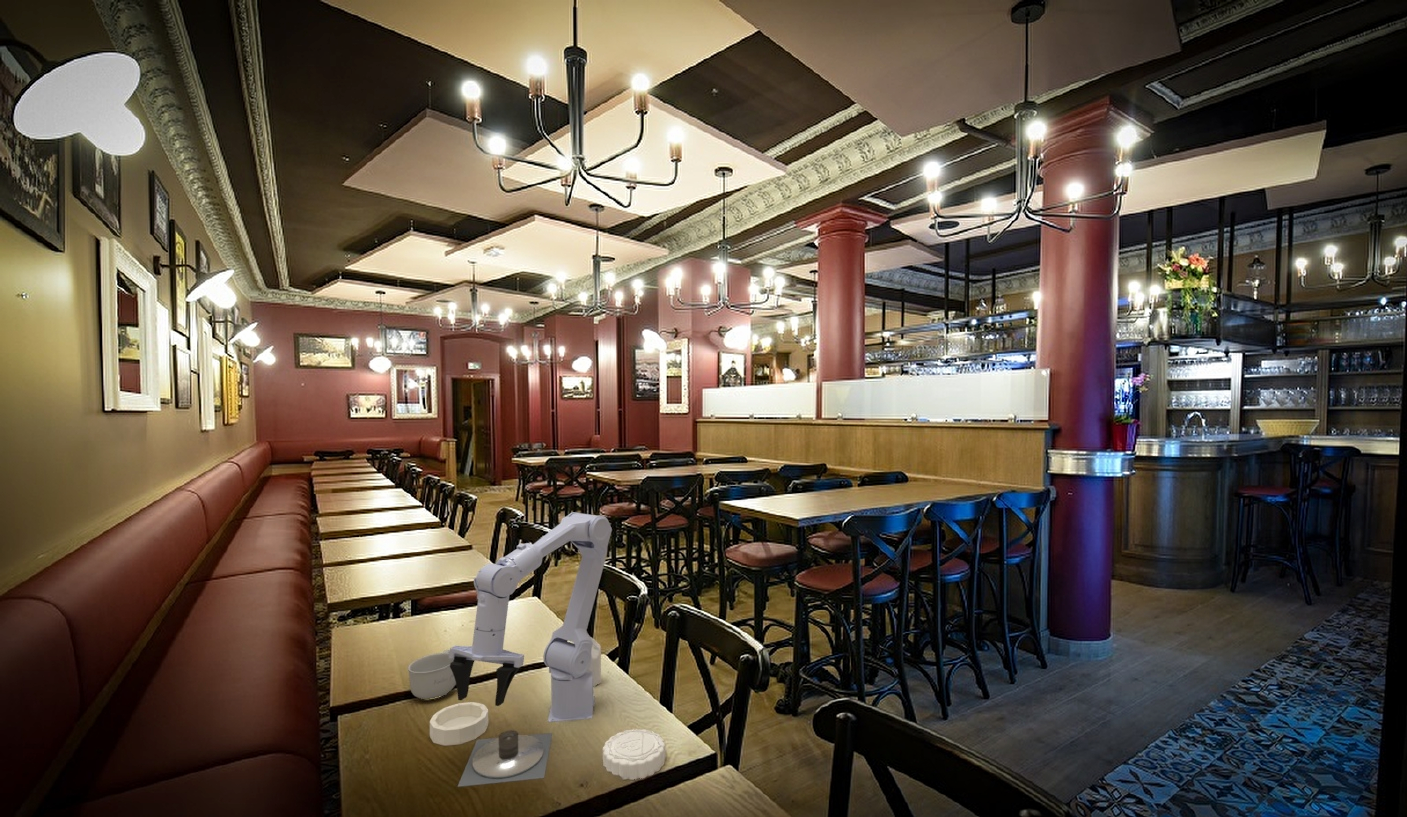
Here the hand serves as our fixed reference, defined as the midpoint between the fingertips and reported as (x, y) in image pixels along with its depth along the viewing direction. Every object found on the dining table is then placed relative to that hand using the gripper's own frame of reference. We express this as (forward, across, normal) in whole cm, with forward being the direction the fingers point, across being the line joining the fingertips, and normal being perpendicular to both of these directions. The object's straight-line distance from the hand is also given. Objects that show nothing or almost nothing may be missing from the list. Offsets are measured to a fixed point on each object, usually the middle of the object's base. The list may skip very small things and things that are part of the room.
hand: (480, 701), depth 112 cm
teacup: (+10, -25, +27) cm, 38 cm away
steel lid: (+11, +6, +3) cm, 12 cm away
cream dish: (+11, -9, +11) cm, 18 cm away
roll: (+6, +10, +36) cm, 38 cm away
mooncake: (+9, +30, +6) cm, 32 cm away
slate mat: (+11, +6, +3) cm, 13 cm away
